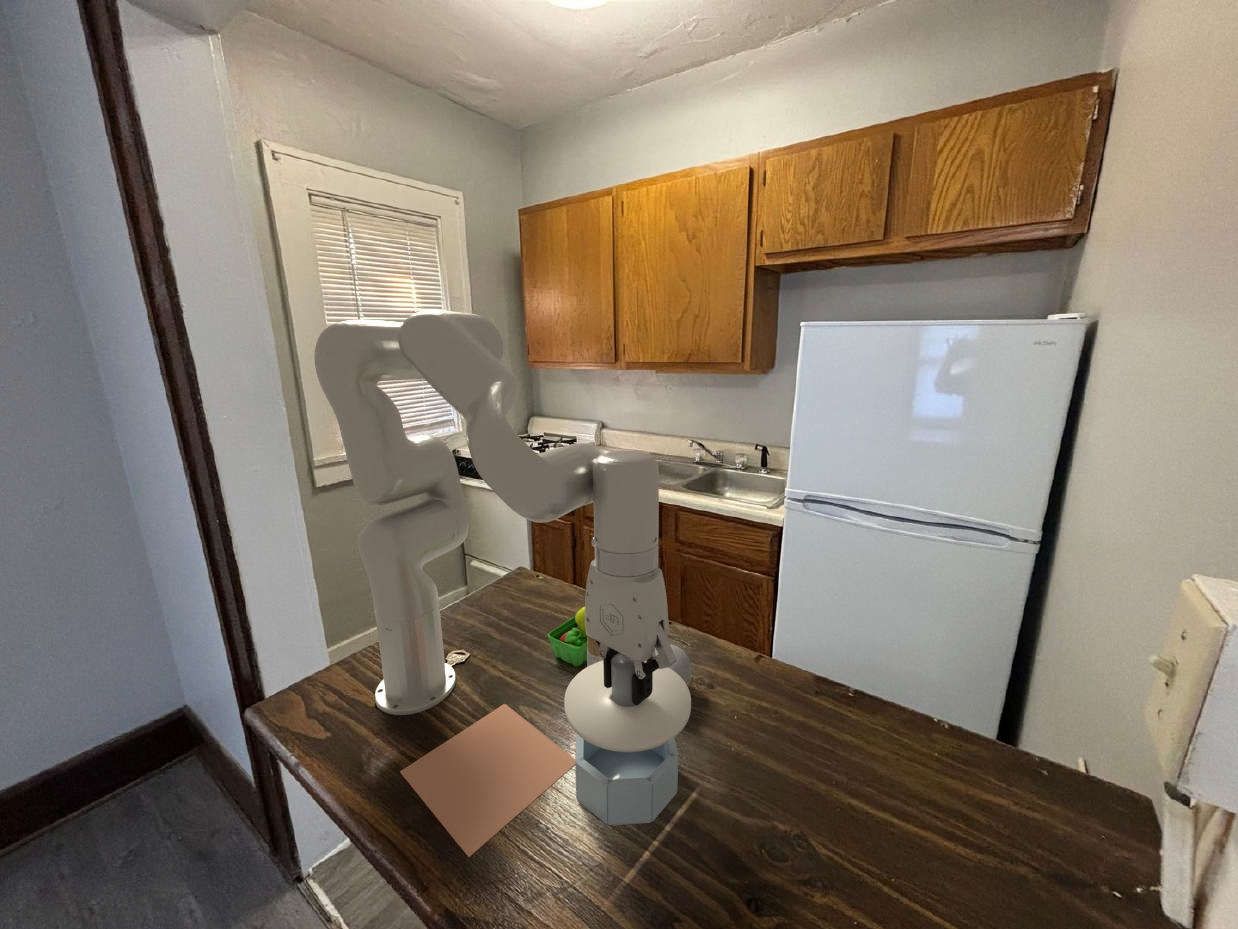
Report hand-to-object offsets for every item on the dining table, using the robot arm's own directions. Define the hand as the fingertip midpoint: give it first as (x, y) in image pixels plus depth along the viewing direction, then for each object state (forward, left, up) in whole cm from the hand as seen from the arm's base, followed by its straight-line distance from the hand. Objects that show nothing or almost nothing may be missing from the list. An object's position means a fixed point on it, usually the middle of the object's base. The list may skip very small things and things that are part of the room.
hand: (627, 689), depth 60 cm
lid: (0, 0, -2) cm, 2 cm away
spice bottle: (-14, +10, -14) cm, 23 cm away
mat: (-15, -11, -14) cm, 24 cm away
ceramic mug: (-8, +17, -14) cm, 23 cm away
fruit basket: (-24, +16, -14) cm, 32 cm away
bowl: (0, 0, -14) cm, 14 cm away
